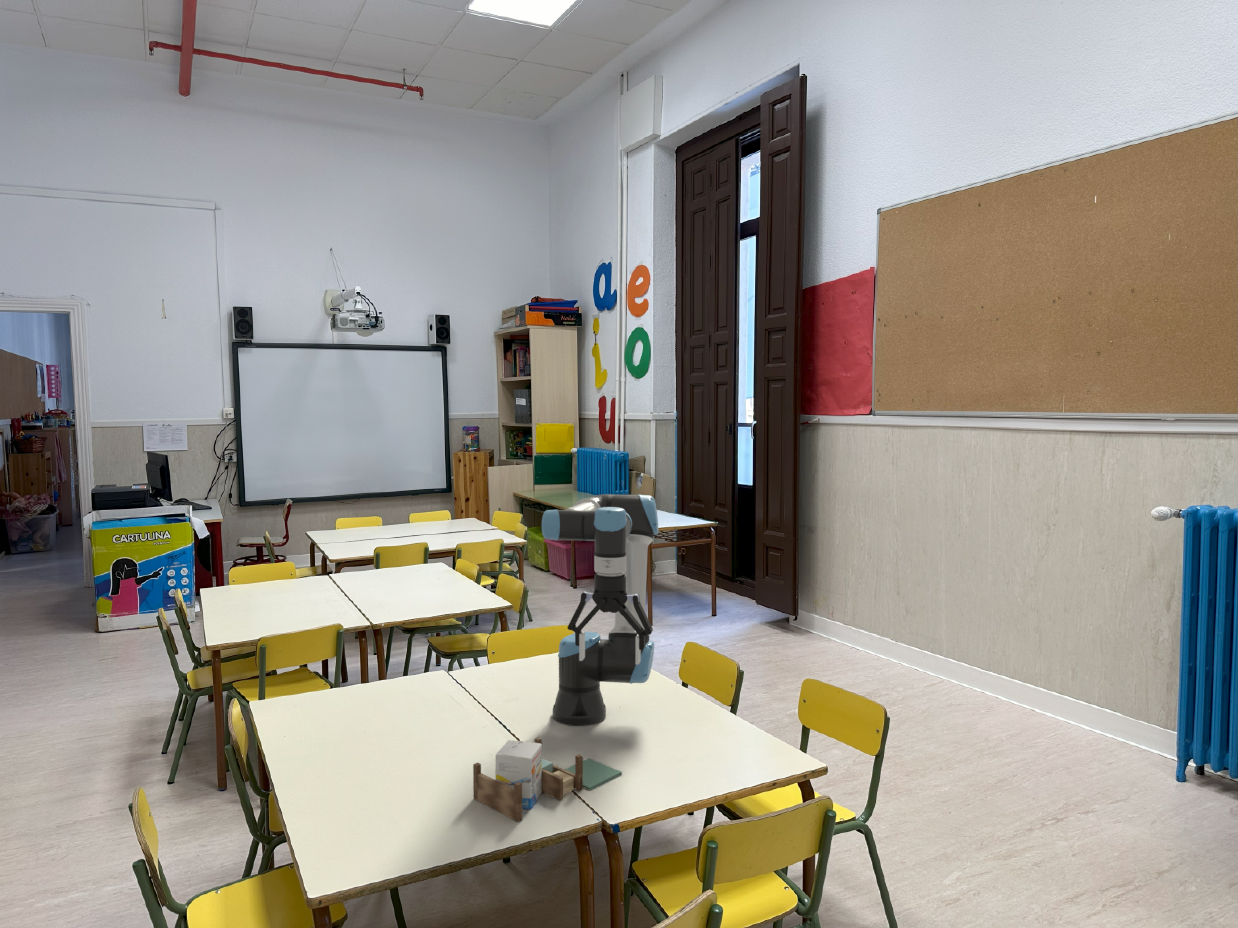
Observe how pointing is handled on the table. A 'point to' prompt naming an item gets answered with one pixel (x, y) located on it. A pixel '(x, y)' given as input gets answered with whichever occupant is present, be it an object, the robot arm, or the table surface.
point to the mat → (595, 773)
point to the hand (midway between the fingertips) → (609, 660)
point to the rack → (510, 798)
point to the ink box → (521, 769)
